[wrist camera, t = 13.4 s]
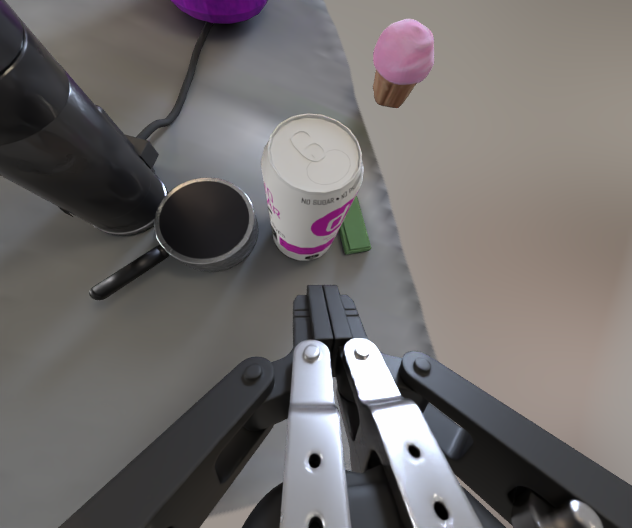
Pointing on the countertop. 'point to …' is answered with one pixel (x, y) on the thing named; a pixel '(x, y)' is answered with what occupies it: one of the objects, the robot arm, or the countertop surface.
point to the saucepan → (195, 232)
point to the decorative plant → (221, 9)
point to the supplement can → (310, 182)
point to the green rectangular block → (354, 230)
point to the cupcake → (401, 61)
